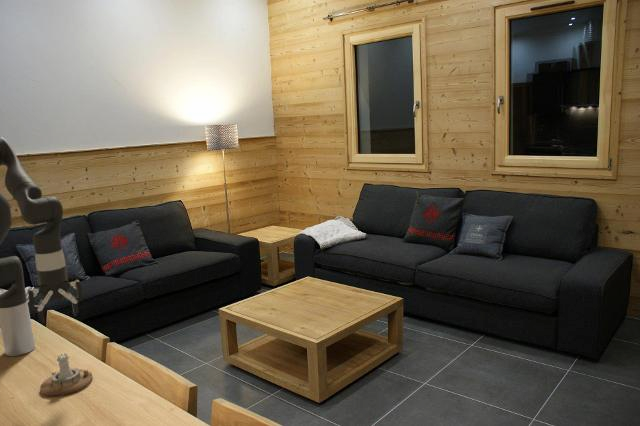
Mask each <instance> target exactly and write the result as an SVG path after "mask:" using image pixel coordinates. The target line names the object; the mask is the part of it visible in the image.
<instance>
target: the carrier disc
mask: <svg viewBox="0 0 640 426" xmlns="http://www.w3.org/2000/svg"><path fill="white" fill-rule="evenodd" d="M69 368H70V370H71V371H72V372H73V374H74V375H73V376H71V377H69V378H65V379H58V376H59V373H60V370H58V371H53V372H51V376H50V377H48V378H46V379H45V380H44V381H43V382H42V383H41V384H40V386H39V387H40V388H39V389H40V393H41V394H42V395H43V396H45V397H48V398H49V397H50V398H52V397H54V398H55V397H63V396H67V395H72V394H74V393H77V392H80V391H81V390H83V389H85V388H87V387H88V386H89V385H91V383H92V382H93V374H92V372H91V371H90V370H88V369H81V368H80V369H79V368H73V367H69Z"/></svg>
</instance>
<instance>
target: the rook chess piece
mask: <svg viewBox="0 0 640 426" xmlns="http://www.w3.org/2000/svg"><path fill="white" fill-rule="evenodd" d="M69 358H70V357H69V355H68V354H67V353H61V354H60V355H58V356H57V360H56V361H57V362H58V366H59V371H60V373H59V376H58V379H65V378H69V377H71V376H73V375H74V374H73V372H72V371H71V370H70V368H71V367H70V365H69V362H70V361H69Z"/></svg>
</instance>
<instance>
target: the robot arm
mask: <svg viewBox="0 0 640 426" xmlns="http://www.w3.org/2000/svg"><path fill="white" fill-rule="evenodd" d="M0 166H6V167H7V169H6V173H5V177H4V185H5V188H6V190H7V192H8V193H9V194H10V195H11V196H12V197H13V199H14V200H15V201H16V203H17V205H18V207H19V211H20V215H21V217H22V219H23V221H24V222H25V223H27V224H29V225H31V226H32V225H33V226H34V225H39V224H44V223H46V224H45V227H43V229H41V230H38V231H37V232H35V233H33V235H32V242H33V243H32V244H33V248H34V249H33V250H34V255H35V256H34V257H35V258H34V259H35V260H34V261H35V267H36V273H37V278H38V279H37V280H38V283H39V287H38V288H33V289H32V288H29V289H28V290H27V293H28V298H27V293H26V286H25V278H24V277H25V276H24V269H23V265H22V261H21V259H20V257H18V256H16V255H13V256H8V257H2V258H0V287H4V286H9V285H11V286H10V287H9V288H8V289H7V290H6V291H5V292H4V293H1V294H0V333H1V337H2V344H3V349H4V354H5V356H6V357H7V356H8V357H16V356H17V357H18V356H21V355H25V354H28V353H29V352H32V351H34V349H36V343H35V337H34V331H33V325H32V321H31V316H30V315H31V314H30V311H31V312H33V311H35V312H37V315H38V321H39V322H40V323H41V322H42V324H44V323H46V319H45V314H44V308H45V305H47V303H48V301H50V302H53V301H56V300H63V299H64V298H66V299H67V300H69V301H70V302H71V307H72V314H73V316H74V317H77V316H78V314H79V311H80V310H79V302H81V301H83V300H84V293H83V289H82V285H81V282H80V280H79V279H75V280H74V281H70V282H69V279H68V272H67V265H66V259H65V254H64V252H63V246H62V240H61V231H62V230H61V229H62V221H63V215H64V207H63V204H62V202H61V200H59V198H58V197H56V196H46V197H42V196H43V195H42V194H43V192H42V189H41V188H40V187H39V185H37V183H36V182H34V180H33V179H32V178H31V176H29V174H28V173H27V171H26V170H25V168H24V167H23V165H22V163H21V161H20V159H19V158H18V156H17V154H16V153H15V151H14V149H13V148H12V146H11V144H10V143H9V141H8V140H7V139H6V138H5V137H2V136H0ZM12 225H13V219H12V209H11V204H10V202H9V200H8V199H7V198H6V197H5V196H4V194H2V193H1V192H0V246H1V244H2V242H3V241H4V240H5V238H6V236H7V235H8V233H9V231H10V230H11V227H12ZM71 287H73V289H74V290H76V293H77V296H76V297H75V296H74V295H73V294H72V293H71V292H70V291H69V290H70V289H71ZM38 293H39V294H40V295H41V296H42V297H41V299H40V301H39V302H38V304H37V305H35V297H37V294H38ZM28 303H29V304H28Z"/></svg>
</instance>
